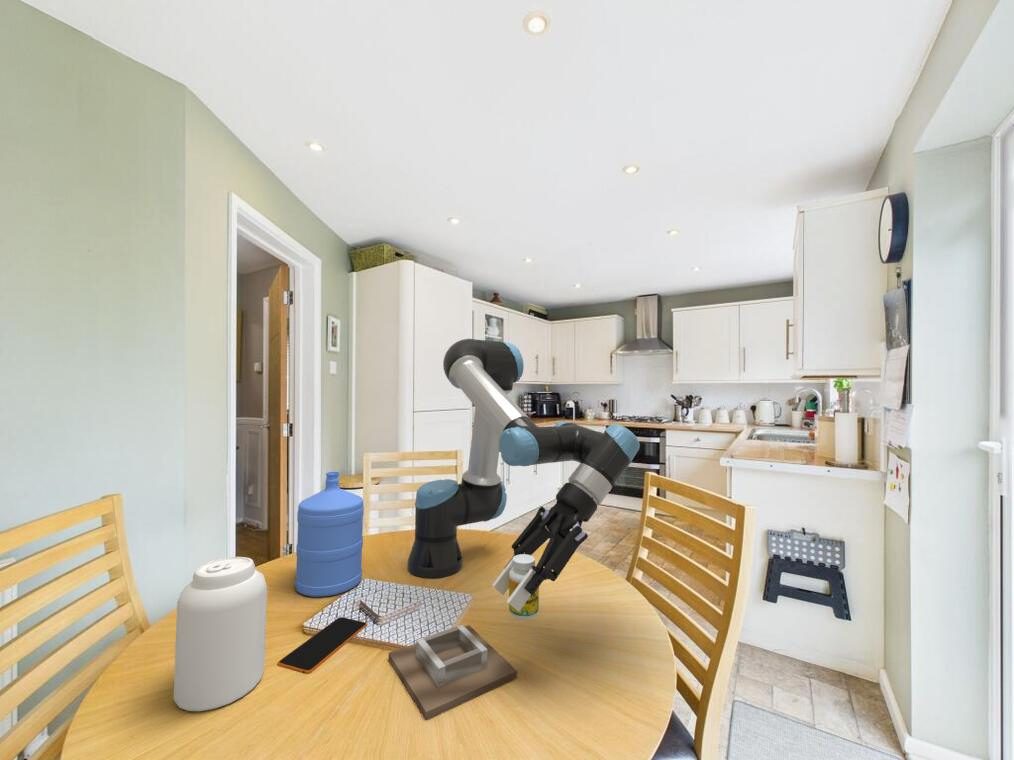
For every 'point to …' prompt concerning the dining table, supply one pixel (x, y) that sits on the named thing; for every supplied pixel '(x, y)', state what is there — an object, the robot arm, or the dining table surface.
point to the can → (220, 634)
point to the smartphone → (322, 645)
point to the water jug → (329, 541)
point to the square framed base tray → (450, 669)
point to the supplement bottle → (516, 575)
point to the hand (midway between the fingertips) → (505, 597)
